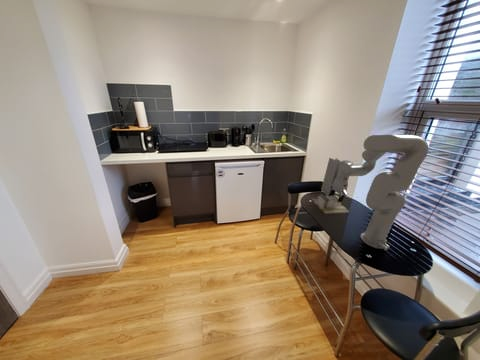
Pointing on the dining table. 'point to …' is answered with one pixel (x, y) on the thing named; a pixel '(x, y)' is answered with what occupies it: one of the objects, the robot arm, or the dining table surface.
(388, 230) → the robot arm
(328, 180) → the brochure
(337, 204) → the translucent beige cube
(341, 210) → the ticket board
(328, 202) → the ticket pad
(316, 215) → the dining table surface
